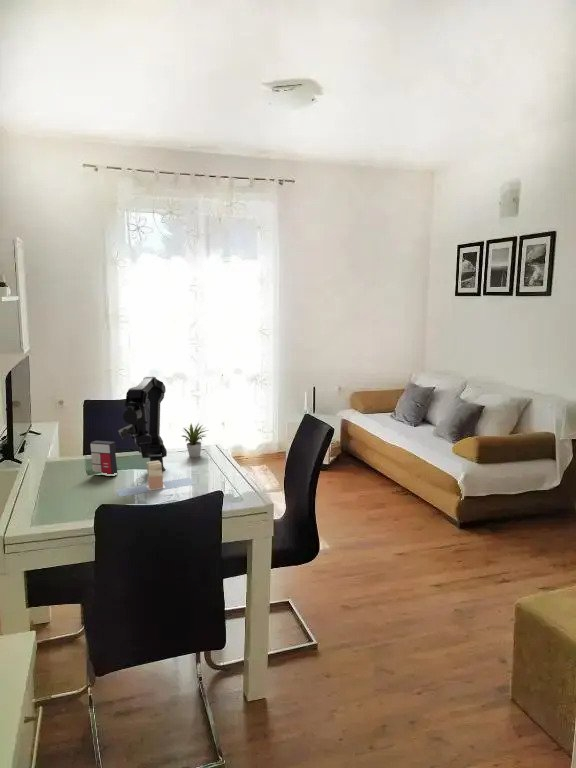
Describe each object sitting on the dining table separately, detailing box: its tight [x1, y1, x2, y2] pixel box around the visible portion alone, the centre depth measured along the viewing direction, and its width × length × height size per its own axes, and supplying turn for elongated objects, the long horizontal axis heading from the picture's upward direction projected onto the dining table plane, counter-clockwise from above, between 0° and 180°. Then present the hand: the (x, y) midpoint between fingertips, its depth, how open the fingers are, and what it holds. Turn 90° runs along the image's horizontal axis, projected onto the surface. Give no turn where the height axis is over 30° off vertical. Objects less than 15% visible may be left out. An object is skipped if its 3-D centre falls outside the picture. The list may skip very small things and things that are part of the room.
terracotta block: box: [147, 474, 164, 489], centre depth 236 cm, size 5×5×5 cm
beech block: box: [146, 460, 163, 477], centre depth 235 cm, size 5×5×5 cm
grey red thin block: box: [89, 440, 118, 474], centre depth 256 cm, size 11×4×15 cm, turn 68°
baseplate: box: [116, 477, 196, 498], centre depth 236 cm, size 10×30×1 cm, turn 112°
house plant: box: [181, 423, 209, 458], centre depth 279 cm, size 14×14×16 cm
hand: (142, 455), depth 243 cm, fingers open, 9 cm apart
